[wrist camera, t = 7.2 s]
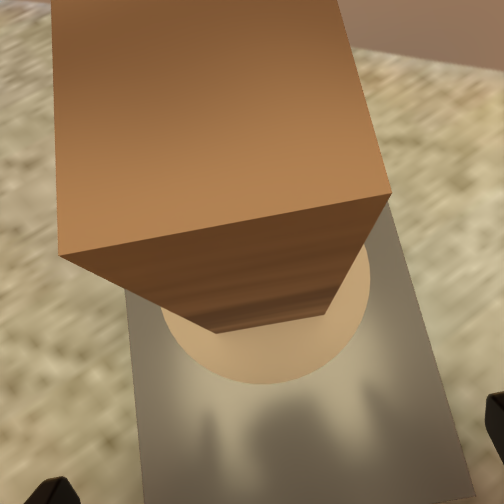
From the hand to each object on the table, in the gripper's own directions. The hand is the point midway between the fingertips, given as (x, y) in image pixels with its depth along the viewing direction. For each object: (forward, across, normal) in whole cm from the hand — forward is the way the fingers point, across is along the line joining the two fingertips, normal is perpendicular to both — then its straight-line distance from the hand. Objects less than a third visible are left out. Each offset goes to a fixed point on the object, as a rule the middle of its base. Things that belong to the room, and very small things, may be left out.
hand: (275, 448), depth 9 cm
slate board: (+9, 0, +4) cm, 10 cm away
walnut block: (+9, 0, +1) cm, 9 cm away
